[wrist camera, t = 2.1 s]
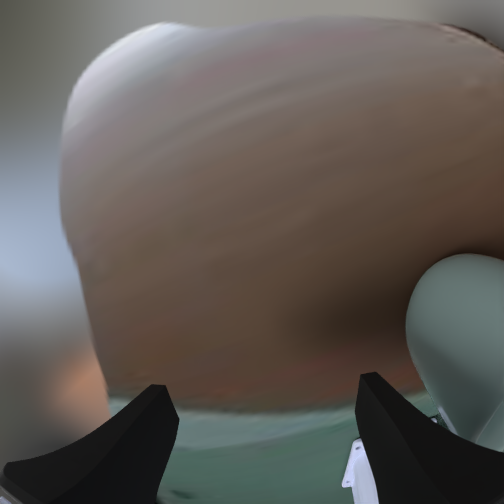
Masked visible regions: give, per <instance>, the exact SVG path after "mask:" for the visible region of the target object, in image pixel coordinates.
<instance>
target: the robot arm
mask: <svg viewBox="0 0 504 504" xmlns="http://www.w3.org/2000/svg"><path fill="white" fill-rule="evenodd" d="M355 415H356V420H357V425H358V430H359V434H360V439H357V440H355V441H354V442H353V445H352V449H351V453H350V457H349V461H348V464H347V468H346V471H345V475H344V478H343V481H342V487H350V486H352V491H353V497H354V502H355V504H504V452H500V451H496V450H493V449H489V448H486V447H483V446H480V445H478V444H475V443H473V442H471V441H468V440H466V439H464V438H462V437H460V436H458V435H456V434H454V433H452V432H450V431H449V430H447V429H445V428H444V427H442V426H440V425H439V424H437V420H436V419H435V418H432V419H430V418H429V417H427V416H426V415H425V414H423V413H422V412H421V411H419V410H418V409H417V408H416V407H414V406H413V405H412V404H411V403H410V402H409V401H407V400H406V399H405V398H404V397H403V396H402V395H401V394H399V393H398V392H397V391H396V390H395V389H394V388H393V387H392V386H391V385H390V384H389V383H388V382H387V381H386V380H385V379H383V378H382V377H381V376H380V375H379V374H378V373H377V372H372V373H366V374H361V375H360V381H359V388H358V395H357V401H356V407H355ZM178 425H179V417H178V415H177V413H176V410H175V408H174V406H173V403H172V401H171V398H170V396H169V393H168V391H167V388H166V385H154V384H151V385H150V386H149V387H148V388H146V389H145V390H144V391H143V392H142V393H141V394H139V395H138V396H137V397H136V398H135V399H134V400H133V401H131V402H130V403H129V404H128V405H127V406H125V407H124V408H123V409H122V410H121V411H119V412H118V413H117V414H116V415H115V416H113V417H112V418H111V419H109V420H108V421H107V422H105V423H104V424H103V425H101V426H100V427H99V428H97V429H96V430H94V431H93V432H91V433H90V434H88V435H86V436H85V437H83V438H82V439H80V440H78V441H76V442H74V443H72V444H70V445H68V446H65V447H63V448H61V449H59V450H56V451H54V452H51V453H48V454H45V455H42V456H39V457H35V458H31V459H27V460H21V461H15V462H8V463H7V464H6V465H5V466H4V468H3V469H2V471H1V472H0V488H1V489H2V490H3V491H4V492H5V493H6V494H8V495H9V496H10V497H11V498H12V499H13V500H14V501H16V502H17V503H18V504H155V501H156V496H157V492H158V488H159V485H160V482H161V479H162V476H163V473H164V471H165V468H166V465H167V462H168V460H169V457H170V454H171V451H172V449H173V446H174V443H175V440H176V435H177V430H178ZM0 504H11V503H10V502H9V501H8V500H7V499H5V498H4V497H3V496H1V498H0Z"/></svg>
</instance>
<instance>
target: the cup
mask: <svg viewBox="0 0 504 504" xmlns="http://www.w3.org/2000/svg"><path fill="white" fill-rule="evenodd" d="M405 335H406V341H407V346H408V350H409V353H410V357H411V359H412V362H413V364H414V366H415V368H416V370H417V372H418V374H419V376H420V378H421V380H422V382H423V384H424V386H425V388H426V390H427V392H428V393H429V395H430V397H431V399H432V401H433V402H434V404H435V406H436V408H437V409H438V411H439V413H440V415H441V416H442V418H443V420H444V421H445V423H446V425H447V427H448V429H449V430H450V432H452V433H454V434H456V435H458V436H460V437H462V438H464V439H466V440H468V441H471V442H473V443H475V444H478V445H480V446H483V447H486V448H489V449H493V450H496V451H500V452H501V451H502V450H504V260H502V259H498V258H495V257H491V256H487V255H481V254H472V253H465V254H457V255H452V256H449V257H446V258H444V259H441V260H440V261H438V262H436V263H435V264H433V265H432V266H431V267H430V268H429V269H427V270H426V271H425V273H424V274H423V275H422V276H421V278H420V279H419V281H418V282H417V284H416V286H415V288H414V290H413V292H412V295H411V297H410V300H409V303H408V307H407V312H406V320H405Z"/></svg>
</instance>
